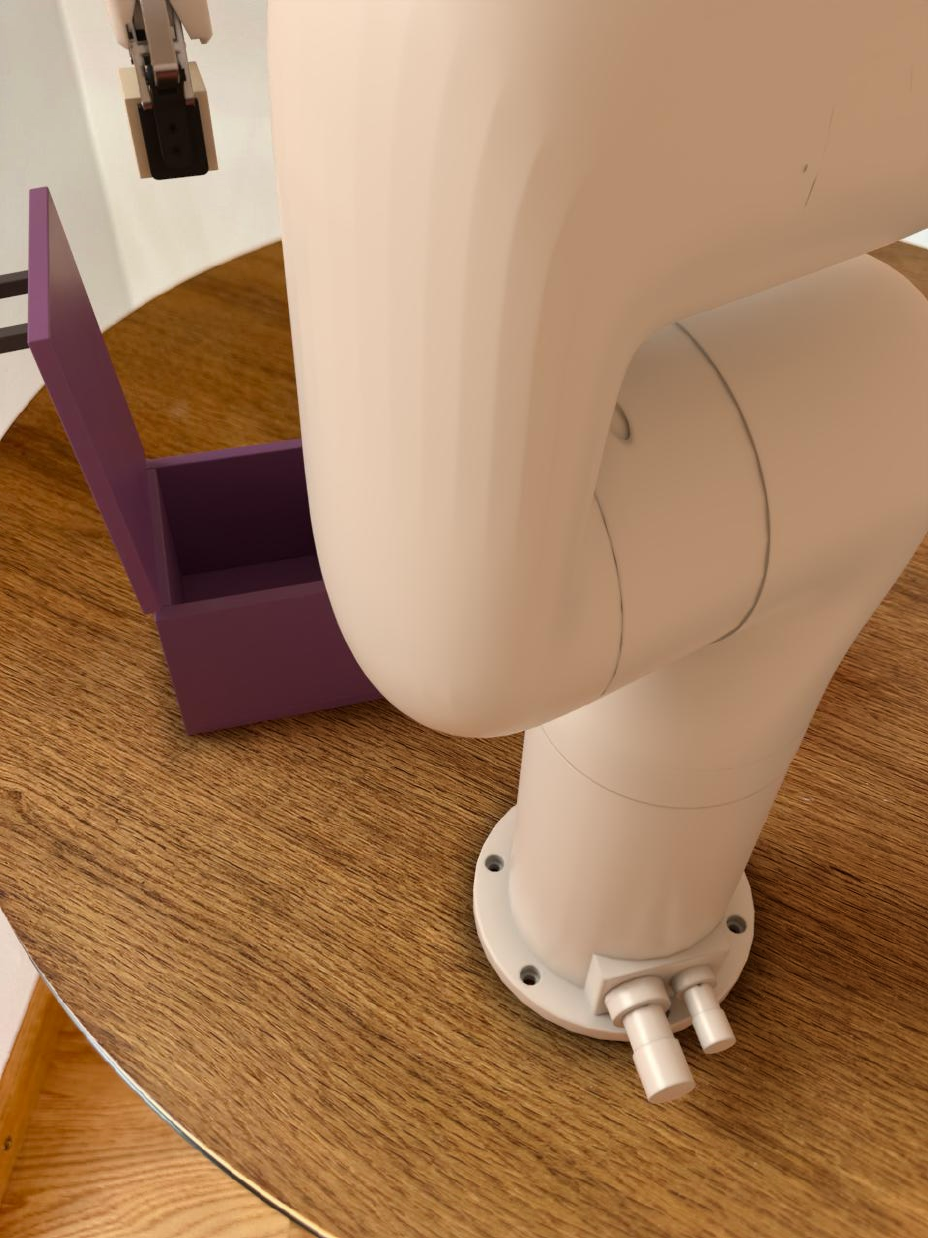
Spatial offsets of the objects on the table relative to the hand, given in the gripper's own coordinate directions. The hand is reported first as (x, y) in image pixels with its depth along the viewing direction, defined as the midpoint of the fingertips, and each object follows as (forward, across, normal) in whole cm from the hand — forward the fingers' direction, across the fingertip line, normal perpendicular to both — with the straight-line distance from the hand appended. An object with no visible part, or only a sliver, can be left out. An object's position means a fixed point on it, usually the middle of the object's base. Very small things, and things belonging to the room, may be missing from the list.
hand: (174, 152), depth 62 cm
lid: (+1, -23, +6) cm, 24 cm away
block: (0, 0, 0) cm, 0 cm away
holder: (+17, -23, -1) cm, 29 cm away
